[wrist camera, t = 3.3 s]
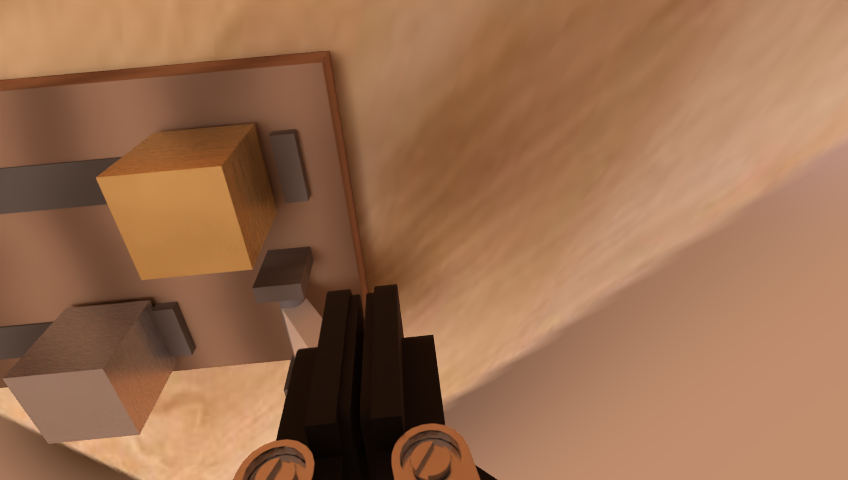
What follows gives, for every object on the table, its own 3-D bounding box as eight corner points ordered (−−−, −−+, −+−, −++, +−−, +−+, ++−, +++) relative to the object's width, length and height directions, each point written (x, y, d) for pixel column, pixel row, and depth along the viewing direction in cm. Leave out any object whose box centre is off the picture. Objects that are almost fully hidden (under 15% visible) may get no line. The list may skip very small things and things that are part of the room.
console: (328, 50, 21) (311, 80, 16) (373, 321, 29) (369, 394, 24) (-191, 97, 21) (-360, 140, 16) (-7, 358, 29) (-86, 439, 24)
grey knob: (149, 300, 24) (102, 368, 20) (177, 361, 26) (139, 434, 22) (65, 308, 24) (2, 378, 20) (100, 369, 26) (48, 443, 22)
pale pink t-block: (302, 274, 23) (396, 387, 17) (319, 344, 26) (408, 468, 19) (265, 289, 23) (348, 414, 16) (286, 360, 25) (366, 494, 18)
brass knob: (254, 123, 20) (221, 166, 16) (277, 212, 22) (252, 269, 18) (153, 132, 20) (95, 177, 16) (185, 221, 22) (141, 280, 18)
